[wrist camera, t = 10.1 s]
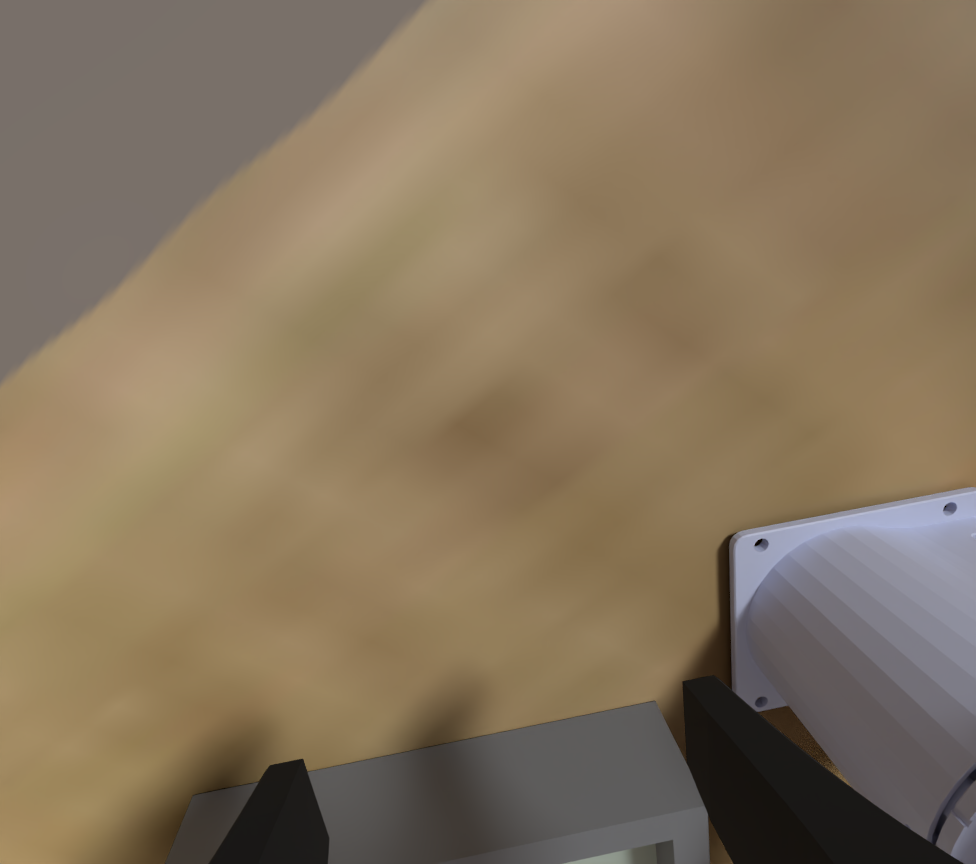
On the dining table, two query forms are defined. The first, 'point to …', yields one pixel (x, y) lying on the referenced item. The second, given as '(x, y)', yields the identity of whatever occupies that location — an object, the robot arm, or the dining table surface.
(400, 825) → the box
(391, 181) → the dining table surface
